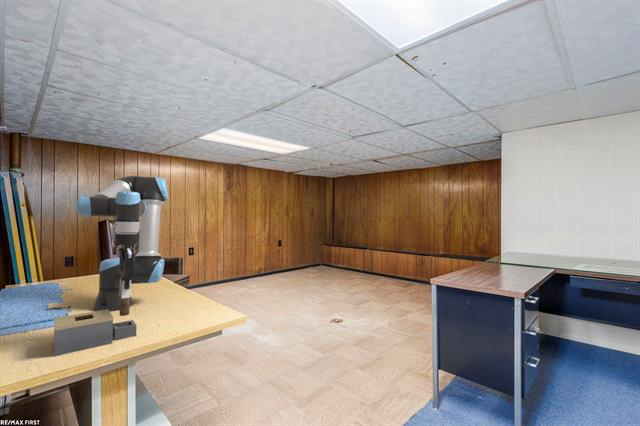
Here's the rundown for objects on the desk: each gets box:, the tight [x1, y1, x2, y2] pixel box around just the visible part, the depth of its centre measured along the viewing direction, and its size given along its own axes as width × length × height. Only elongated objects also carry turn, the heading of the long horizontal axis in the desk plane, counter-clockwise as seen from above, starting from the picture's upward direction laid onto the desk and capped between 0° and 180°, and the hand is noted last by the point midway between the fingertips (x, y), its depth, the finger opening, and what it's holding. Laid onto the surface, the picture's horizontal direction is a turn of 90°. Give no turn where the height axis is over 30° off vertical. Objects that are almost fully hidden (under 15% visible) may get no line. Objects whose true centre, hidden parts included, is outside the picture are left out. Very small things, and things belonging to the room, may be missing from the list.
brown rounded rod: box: [119, 271, 130, 317], centre depth 111 cm, size 3×3×16 cm
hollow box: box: [53, 309, 114, 357], centre depth 103 cm, size 11×15×9 cm
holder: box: [113, 319, 137, 341], centre depth 111 cm, size 7×7×4 cm
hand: (125, 296), depth 110 cm, fingers closed on brown rounded rod, 3 cm apart
